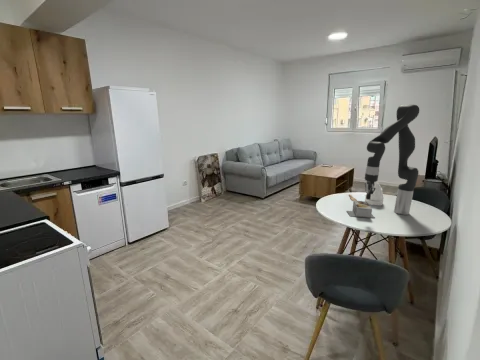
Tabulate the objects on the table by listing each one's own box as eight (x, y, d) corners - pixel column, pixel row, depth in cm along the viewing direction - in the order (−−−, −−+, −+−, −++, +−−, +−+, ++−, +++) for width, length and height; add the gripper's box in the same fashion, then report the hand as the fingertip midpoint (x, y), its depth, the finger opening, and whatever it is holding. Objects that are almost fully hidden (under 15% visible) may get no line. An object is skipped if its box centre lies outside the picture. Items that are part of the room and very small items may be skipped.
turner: (347, 195, 223) (347, 194, 223) (352, 195, 223) (352, 194, 223) (352, 201, 209) (352, 200, 209) (357, 201, 208) (357, 200, 208)
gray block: (346, 211, 185) (346, 210, 185) (369, 212, 183) (369, 212, 183) (350, 216, 176) (350, 215, 175) (375, 218, 174) (375, 217, 173)
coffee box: (370, 218, 172) (366, 209, 188) (372, 208, 171) (367, 201, 186) (356, 216, 175) (352, 208, 190) (357, 207, 173) (353, 200, 188)
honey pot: (361, 201, 209) (364, 179, 205) (372, 199, 214) (375, 178, 210) (375, 206, 198) (378, 183, 193) (386, 204, 203) (390, 181, 199)
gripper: (362, 170, 172) (358, 195, 176) (369, 175, 159) (365, 202, 163) (374, 171, 171) (370, 196, 175) (382, 175, 158) (377, 202, 162)
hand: (368, 199), depth 169 cm, fingers closed
